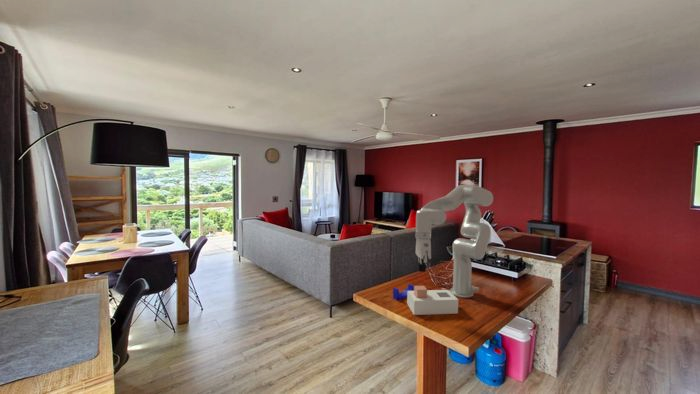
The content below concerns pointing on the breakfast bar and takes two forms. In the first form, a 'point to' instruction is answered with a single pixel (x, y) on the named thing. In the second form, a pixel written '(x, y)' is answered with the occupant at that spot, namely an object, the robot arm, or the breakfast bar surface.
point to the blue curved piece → (403, 294)
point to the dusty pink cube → (420, 291)
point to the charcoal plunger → (443, 294)
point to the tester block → (432, 303)
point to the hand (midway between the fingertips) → (421, 271)
